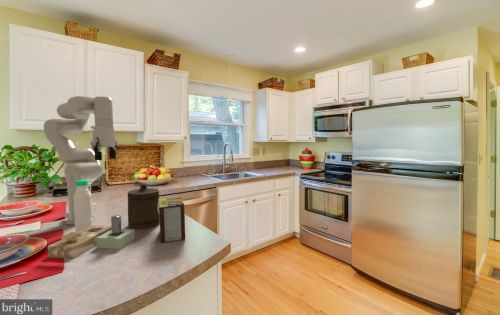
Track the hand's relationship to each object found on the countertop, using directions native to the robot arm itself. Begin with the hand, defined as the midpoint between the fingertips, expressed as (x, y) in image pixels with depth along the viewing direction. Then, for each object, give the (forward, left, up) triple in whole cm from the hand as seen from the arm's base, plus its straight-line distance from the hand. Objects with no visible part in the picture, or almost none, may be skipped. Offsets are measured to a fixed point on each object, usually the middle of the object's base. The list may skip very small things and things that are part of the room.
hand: (105, 159), depth 118 cm
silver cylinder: (+16, -17, -33) cm, 41 cm away
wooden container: (+15, +6, -35) cm, 38 cm away
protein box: (+34, -4, -35) cm, 49 cm away
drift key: (+4, -26, -32) cm, 42 cm away
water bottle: (-8, -6, -34) cm, 36 cm away
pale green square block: (+16, -17, -34) cm, 41 cm away
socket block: (+4, -20, -34) cm, 40 cm away
